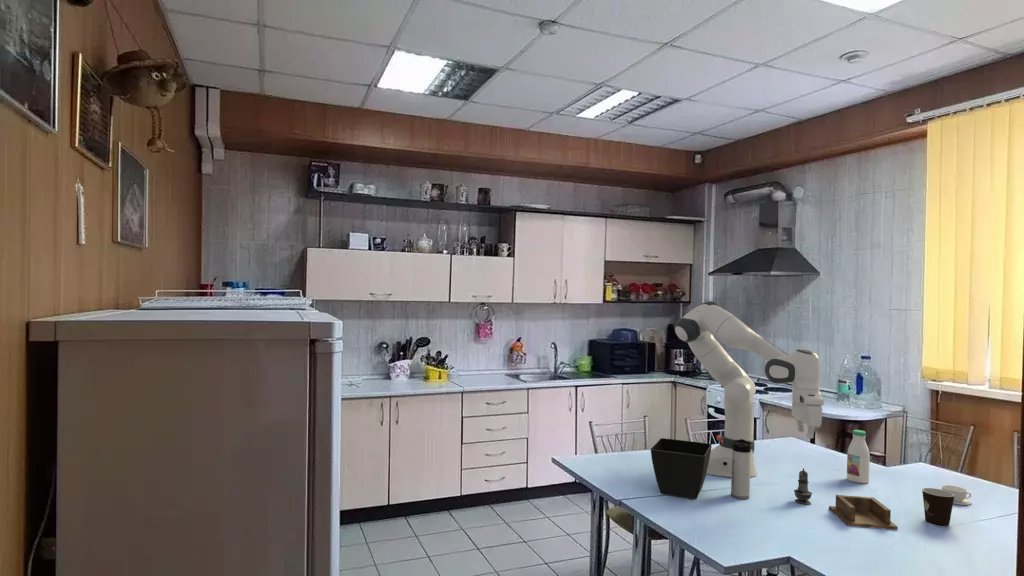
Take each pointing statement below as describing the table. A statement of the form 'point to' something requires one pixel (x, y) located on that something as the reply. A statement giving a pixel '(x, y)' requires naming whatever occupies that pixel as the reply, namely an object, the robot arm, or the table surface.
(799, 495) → the grey chess piece
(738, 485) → the travel mug
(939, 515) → the coffee mug
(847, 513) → the u-rest
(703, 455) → the flower pot
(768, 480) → the table surface
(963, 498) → the teacup
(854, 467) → the milk bottle
